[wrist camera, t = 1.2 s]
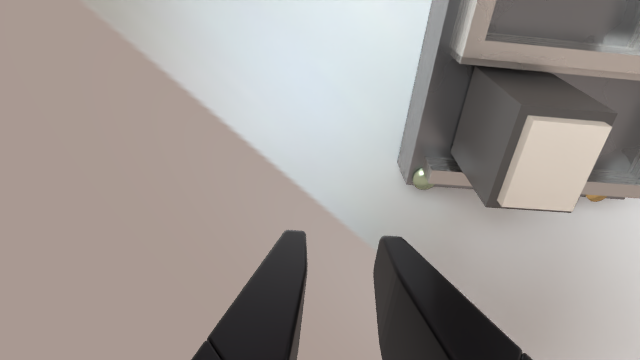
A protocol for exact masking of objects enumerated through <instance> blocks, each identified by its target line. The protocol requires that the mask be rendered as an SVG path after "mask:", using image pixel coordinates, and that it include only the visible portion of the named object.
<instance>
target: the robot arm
mask: <svg viewBox="0 0 640 360" xmlns="http://www.w3.org/2000/svg"><path fill="white" fill-rule="evenodd" d="M306 278H307V247H306V234H305V232H304V231H296V230H286V231H285V232H284V233H283V234H282V236H281V237H280V238H279V240H278V241H277V242H276V244H275V245H274V247H273V248H272V250H271V251H270V252H269V254H268V255H267V256H266V258H265V259H264V260H263V262H262V263H261V265H260V266H259V267H258V269H257V270H256V271H255V273H254V274H253V276H252V277H251V278H250V280H249V281H248V283H247V284H246V285H245V287H244V288H243V289H242V291H241V292H240V294H239V295H238V296H237V298H236V299H235V301H234V302H233V303H232V305H231V306H230V307H229V309H228V310H227V312H226V313H225V314H224V316H223V317H222V318H221V320H220V321H219V323H218V324H217V325H216V327H215V328H214V330H213V331H212V332H211V334H210V335H209V336H208V338H207V341H205V342H204V343H203V344H202V346H201V347H200V348H199V350H198V351H197V353H196V354H195V355H194V357H193V358H192V360H297V354H298V347H299V339H300V330H301V322H302V313H303V304H304V294H305V286H306ZM374 288H375V299H376V312H377V323H378V335H379V344H380V349H381V355H382V360H532V359H531V358H530V357H529V356H528V355H527V354H526V353H523V354H522V350H521V349H520V348H519V347H518V346H517V345H516V344H515V343H514V342H513V341H512V340H511V339H510V338H509V337H508V336H506V335H505V334H504V333H503V332H502V331H501V330H500V329H499V328H498V327H497V326H496V325H495V324H494V323H493V322H492V321H490V320H489V319H488V318H487V317H486V316H485V315H484V314H483V313H482V312H481V311H480V310H479V309H478V308H477V307H476V306H475V305H473V304H472V303H471V302H470V301H469V300H468V299H467V298H466V297H465V296H464V295H463V294H462V293H461V292H460V291H459V290H457V289H456V288H455V287H454V286H453V285H452V284H451V283H450V282H449V281H448V280H447V279H446V278H445V277H444V276H443V275H441V274H440V273H439V272H438V271H437V270H436V269H435V268H434V267H433V266H432V265H431V264H430V263H429V262H428V261H427V260H425V259H424V258H423V257H422V256H421V255H420V254H419V253H418V252H417V251H416V250H415V249H414V248H413V247H412V246H411V245H409V244H408V243H407V242H406V241H405V240H404V239H403V238H402V237H397V236H383V237H381V239H380V241H379V246H378V250H377V255H376V260H375V265H374Z"/></svg>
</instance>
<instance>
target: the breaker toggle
mask: <svg viewBox="0 0 640 360" xmlns="http://www.w3.org/2000/svg"><path fill="white" fill-rule="evenodd" d="M617 114H618V113H617V112H615V111H613V110H612V109H610V108H608V107H607V106H605V105H603V104H602V103H600V102H599V101H597V100H595V99H594V98H592V97H590V96H589V95H587V94H585V93H584V92H582V91H580V90H579V89H577V88H575V87H574V86H572V85H570V84H569V83H567V82H566V81H564V80H562V79H561V78H559V77H557V76H556V75H554V74H552V73H544V72H533V71H523V70H512V69H501V68H491V67H480V66H475V67H474V71H473V74H472V78H471V82H470V85H469V89H468V92H467V96H466V99H465V103H464V106H463V110H462V114H461V117H460V121H459V124H458V128H457V131H456V135H455V138H454V142H453V146H452V149H451V154H452V156H453V157H454V159H455V160H456V162H457V163H458V165H459V167H460V168H461V170H462V171H463V173H464V174H465V176H466V177H467V179H468V181H469V182H470V184H471V185H472V187H473V188H474V190H475V191H476V193H477V194H478V196H479V198H480V199H481V201H482V202H483V204H484V205H485V207H492V208H507V209H522V210H537V211H552V212H567V213H571V212H572V211H573V209H574V207H575V205H576V203H577V201H578V199H579V196H580V194H581V192H582V190H583V188H584V186H585V184H586V182H587V180H588V177H589V175H590V173H591V171H592V169H593V167H594V165H595V163H596V161H597V158H598V156H599V154H600V152H601V150H602V148H603V146H604V144H605V141H606V139H607V137H608V135H609V133H610V131H611V129H612V125H613V123H614V121H615V118H616V116H617Z"/></svg>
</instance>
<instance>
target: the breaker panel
mask: <svg viewBox="0 0 640 360" xmlns="http://www.w3.org/2000/svg"><path fill="white" fill-rule="evenodd" d="M475 66H480V67H491V68H501V69H512V70H523V71H533V72H544V73H552V74H554V75H556V76H557V77H559V78H561V79H562V80H564V81H566V82H567V83H569V84H570V85H572V86H574V87H575V88H577V89H579V90H580V91H582V92H584V93H585V94H587V95H589V96H590V97H592V98H594V99H595V100H597V101H599V102H600V103H602V104H603V105H605V106H607V107H608V108H610V109H612V110H613V111H615V112H617V113H618V114H617V116H616V118H615V121H614V123H613V125H612V129H611V131H610V133H609V135H608V137H607V139H606V141H605V144H604V146H603V148H602V150H601V152H600V154H599V156H598V158H597V161H596V163H595V165H594V167H593V169H592V171H591V173H590V175H589V177H588V180H587V182H586V184H585V186H584V188H583V190H582V192H581V194H580V196H582V197H587V198H588V199H589V200H590V201H593V202H597V201H601V200H603V199H605V198H610V199H625V197H628V198H640V0H432V4H431V9H430V13H429V18H428V22H427V27H426V32H425V36H424V41H423V46H422V50H421V55H420V60H419V64H418V69H417V73H416V78H415V83H414V87H413V92H412V97H411V101H410V106H409V111H408V115H407V120H406V124H405V129H404V134H403V138H402V143H401V148H400V152H399V157H398V162H397V163H398V165H399V168H400V170H401V173H402V175H403V178H404V180H405V183H406V184H410V185H415V187H417V188H418V189H421V190H426V189H429V188H431V187H433V186H439V187H453V188H467V189H474V188H473V187H472V185H471V184H470V182H469V181H468V179H467V177H466V176H465V174H464V173H463V171H462V170H461V168H460V167H459V165H458V163H457V162H456V160H455V159H454V157H453V156H452V154H451V149H452V146H453V142H454V138H455V135H456V131H457V128H458V124H459V121H460V117H461V114H462V110H463V106H464V103H465V99H466V96H467V92H468V89H469V85H470V82H471V78H472V74H473V71H474V67H475Z"/></svg>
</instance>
